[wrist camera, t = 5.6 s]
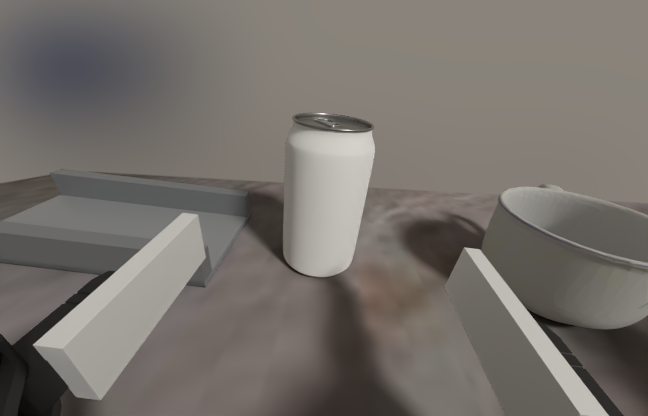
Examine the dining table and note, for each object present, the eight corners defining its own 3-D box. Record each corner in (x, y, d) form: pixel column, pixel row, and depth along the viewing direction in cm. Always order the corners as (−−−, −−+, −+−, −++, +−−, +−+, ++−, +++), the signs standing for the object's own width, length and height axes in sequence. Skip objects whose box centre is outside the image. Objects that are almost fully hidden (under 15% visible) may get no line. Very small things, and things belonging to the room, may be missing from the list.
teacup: (642, 388, 15) (774, 300, 11) (455, 295, 20) (500, 212, 16) (590, 268, 25) (648, 200, 21) (475, 226, 30) (505, 165, 26)
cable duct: (-61, 255, 18) (-91, 221, 17) (73, 194, 27) (61, 168, 26) (205, 287, 18) (199, 256, 17) (250, 215, 27) (249, 191, 26)
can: (296, 289, 19) (306, 131, 13) (274, 240, 24) (274, 110, 18) (365, 270, 21) (400, 131, 16) (332, 229, 26) (350, 113, 20)
